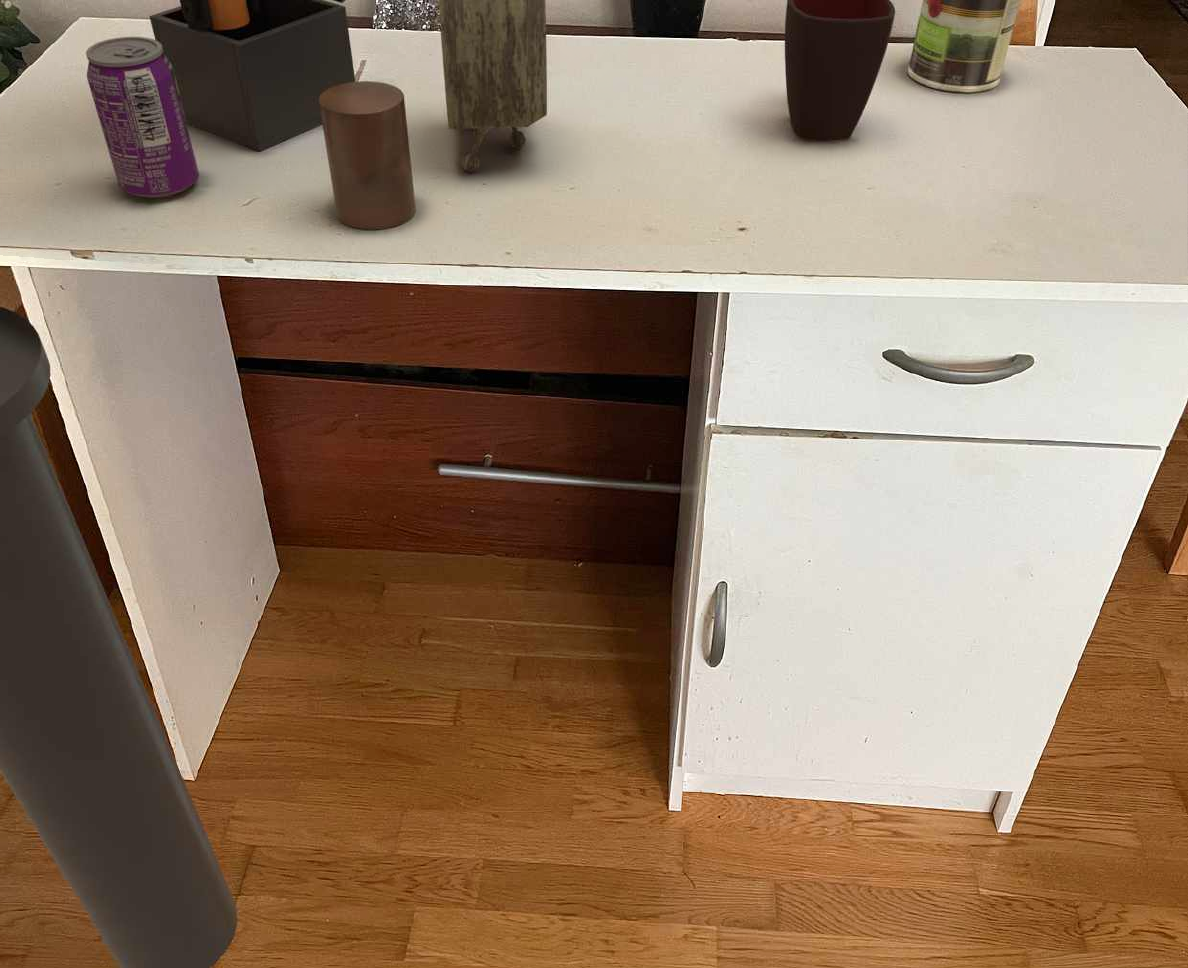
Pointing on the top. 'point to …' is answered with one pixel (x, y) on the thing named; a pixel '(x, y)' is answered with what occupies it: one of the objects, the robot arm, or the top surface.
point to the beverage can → (141, 116)
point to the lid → (339, 1)
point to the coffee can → (962, 43)
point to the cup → (833, 62)
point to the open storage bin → (259, 69)
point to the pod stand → (368, 154)
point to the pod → (228, 14)
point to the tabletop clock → (493, 67)
